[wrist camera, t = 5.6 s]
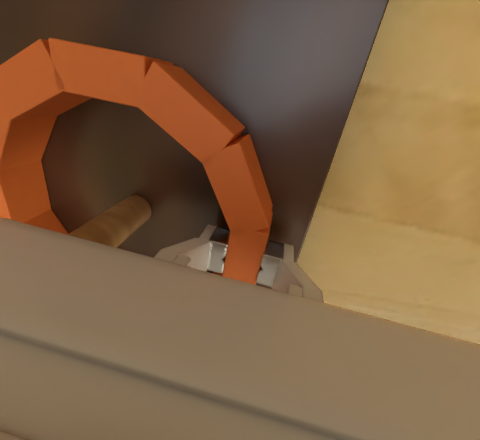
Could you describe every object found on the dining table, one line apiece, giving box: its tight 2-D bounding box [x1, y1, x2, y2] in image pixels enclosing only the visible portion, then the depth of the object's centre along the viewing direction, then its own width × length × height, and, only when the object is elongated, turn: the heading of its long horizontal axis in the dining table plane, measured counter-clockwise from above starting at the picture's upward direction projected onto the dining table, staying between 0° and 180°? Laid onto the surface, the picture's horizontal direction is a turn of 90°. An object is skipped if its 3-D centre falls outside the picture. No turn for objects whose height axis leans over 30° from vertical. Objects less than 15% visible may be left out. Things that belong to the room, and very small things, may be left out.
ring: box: [0, 38, 273, 285], centre depth 14 cm, size 16×16×3 cm
